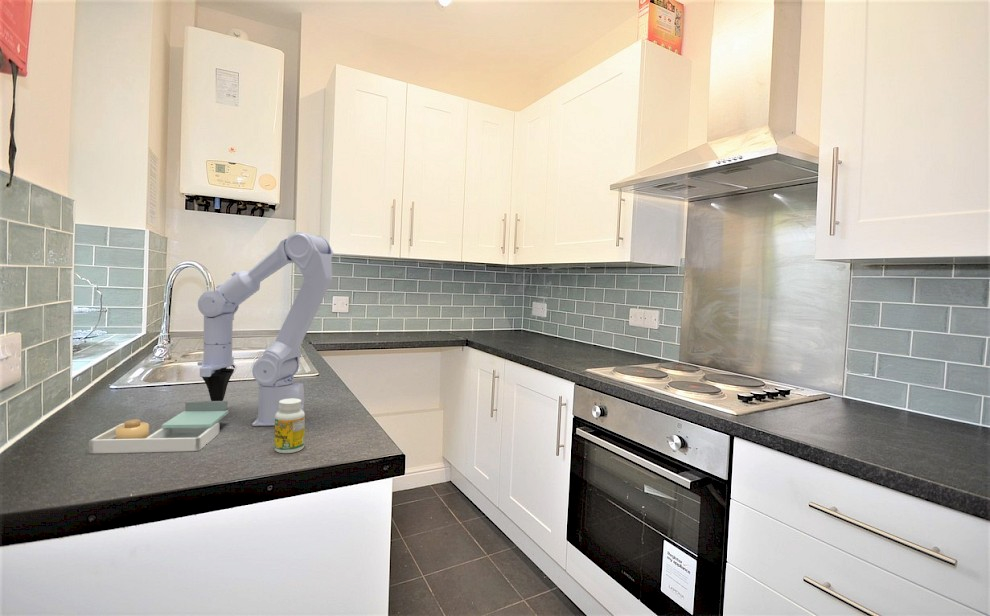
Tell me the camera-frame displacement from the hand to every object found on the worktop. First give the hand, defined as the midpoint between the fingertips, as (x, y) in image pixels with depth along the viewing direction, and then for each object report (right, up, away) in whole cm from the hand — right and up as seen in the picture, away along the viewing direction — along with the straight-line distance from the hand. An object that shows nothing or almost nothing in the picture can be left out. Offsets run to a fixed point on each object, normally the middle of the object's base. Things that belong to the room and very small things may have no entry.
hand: (217, 401), depth 107 cm
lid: (+2, -2, -10) cm, 11 cm away
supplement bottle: (+24, -6, -17) cm, 30 cm away
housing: (-1, -5, -17) cm, 18 cm away
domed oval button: (-5, -5, -18) cm, 20 cm away
